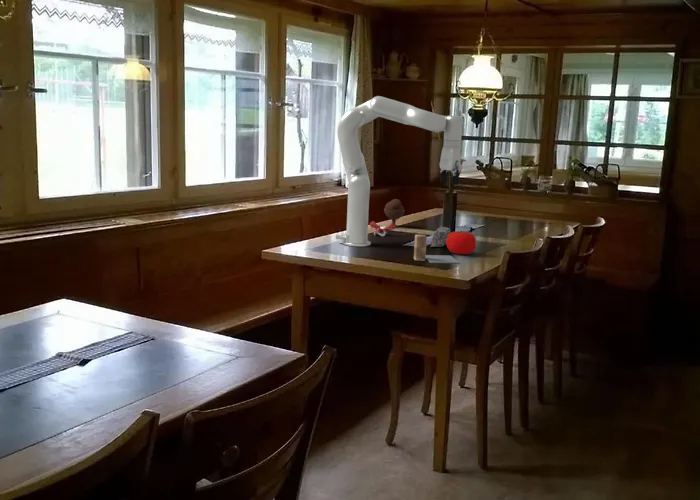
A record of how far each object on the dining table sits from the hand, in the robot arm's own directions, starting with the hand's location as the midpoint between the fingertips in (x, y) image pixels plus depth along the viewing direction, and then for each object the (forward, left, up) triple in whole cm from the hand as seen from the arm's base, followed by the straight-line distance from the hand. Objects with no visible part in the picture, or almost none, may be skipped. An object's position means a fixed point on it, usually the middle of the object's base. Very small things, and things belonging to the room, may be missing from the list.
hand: (449, 183), depth 325 cm
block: (-17, -25, -29) cm, 42 cm away
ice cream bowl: (-13, +55, -29) cm, 64 cm away
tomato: (+4, -12, -29) cm, 32 cm away
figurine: (-24, +31, -29) cm, 49 cm away
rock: (-1, +6, -29) cm, 30 cm away
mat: (-8, -25, -29) cm, 39 cm away
